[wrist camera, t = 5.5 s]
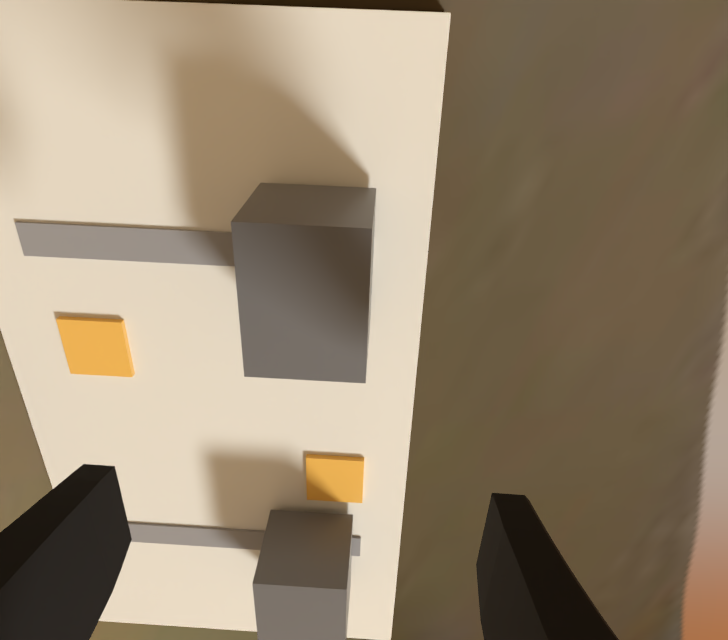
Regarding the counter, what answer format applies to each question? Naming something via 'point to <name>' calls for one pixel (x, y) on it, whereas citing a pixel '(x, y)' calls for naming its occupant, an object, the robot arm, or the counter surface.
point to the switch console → (210, 275)
